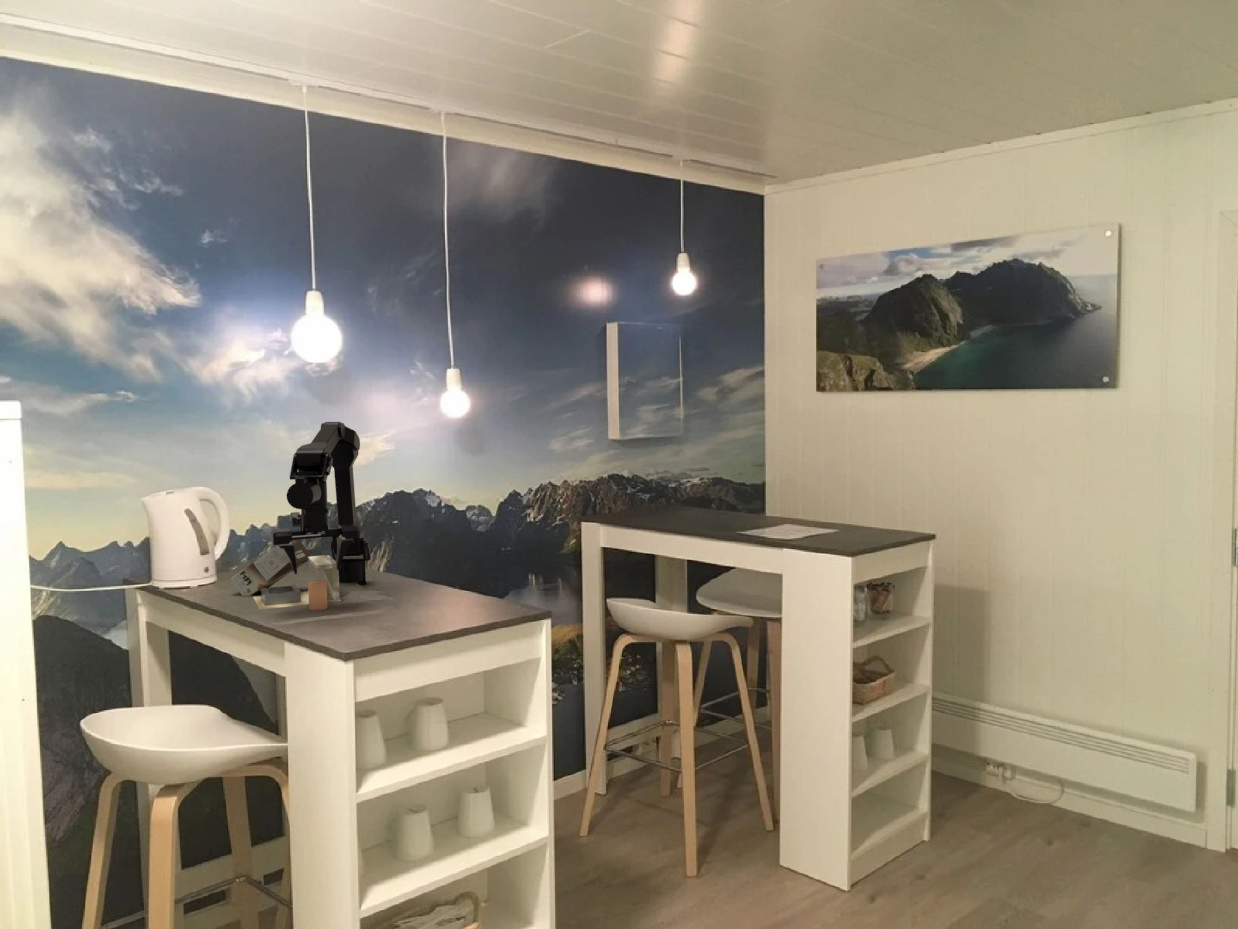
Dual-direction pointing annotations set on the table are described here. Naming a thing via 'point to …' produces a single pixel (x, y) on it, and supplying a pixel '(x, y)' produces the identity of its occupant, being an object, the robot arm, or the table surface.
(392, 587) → the table surface
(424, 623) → the table surface
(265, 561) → the coffee box
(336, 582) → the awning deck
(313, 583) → the peg
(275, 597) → the socket
